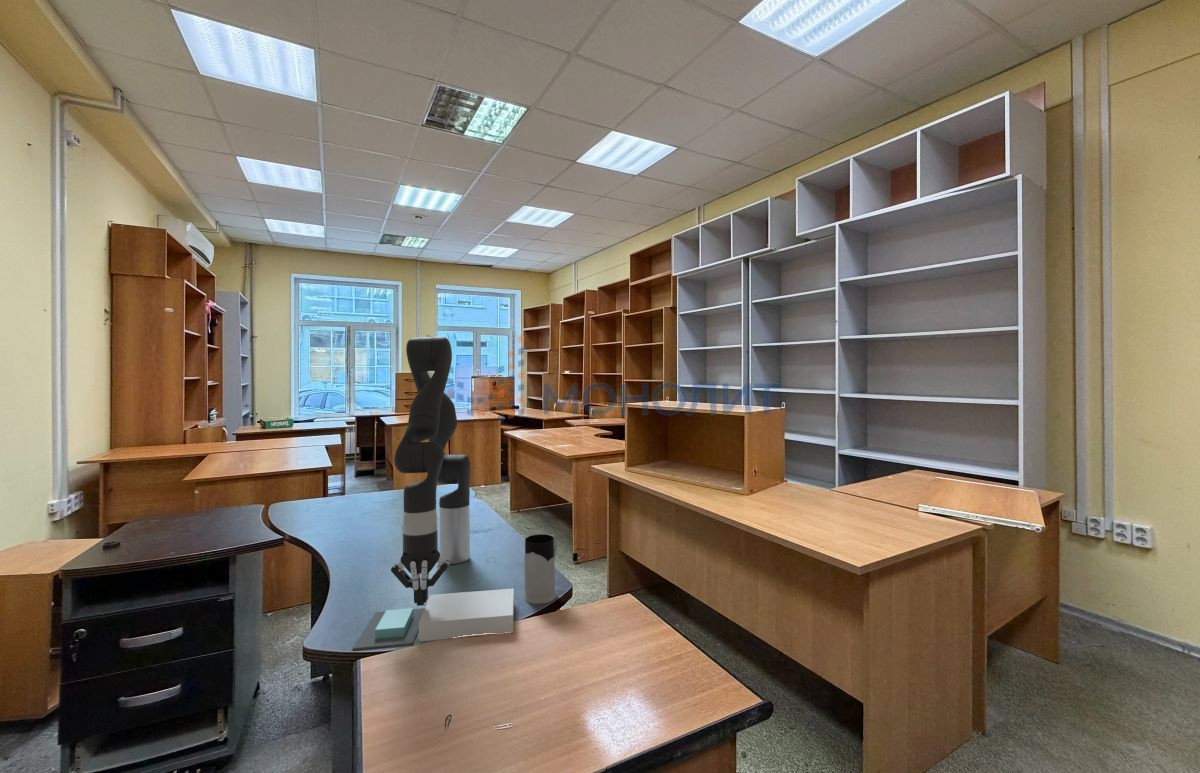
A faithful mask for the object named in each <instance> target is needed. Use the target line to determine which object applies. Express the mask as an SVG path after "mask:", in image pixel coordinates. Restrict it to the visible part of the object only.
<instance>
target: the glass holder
mask: <svg viewBox="0 0 1200 773" xmlns="http://www.w3.org/2000/svg"><path fill="white" fill-rule="evenodd" d="M557 540H558V539H557V536H556V535H555V534H550V535H549V534H542V533H541V534H533V535H529V536H527V537H525V538H524V593H523V595H522V599H523V601H525V602H527V603H530V604H534V605H541V604H547V603H549V602H552V601H554V600H555V599H556V598H557V596H558V595H557V592H556V588H555V587H556V579H555V578H556V576H555V574H556V572H555V571H556V568H555V566H556V562H555V561H556V556H557V548H558V546H557V545H558V543H557V542H558V541H557Z"/></svg>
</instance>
